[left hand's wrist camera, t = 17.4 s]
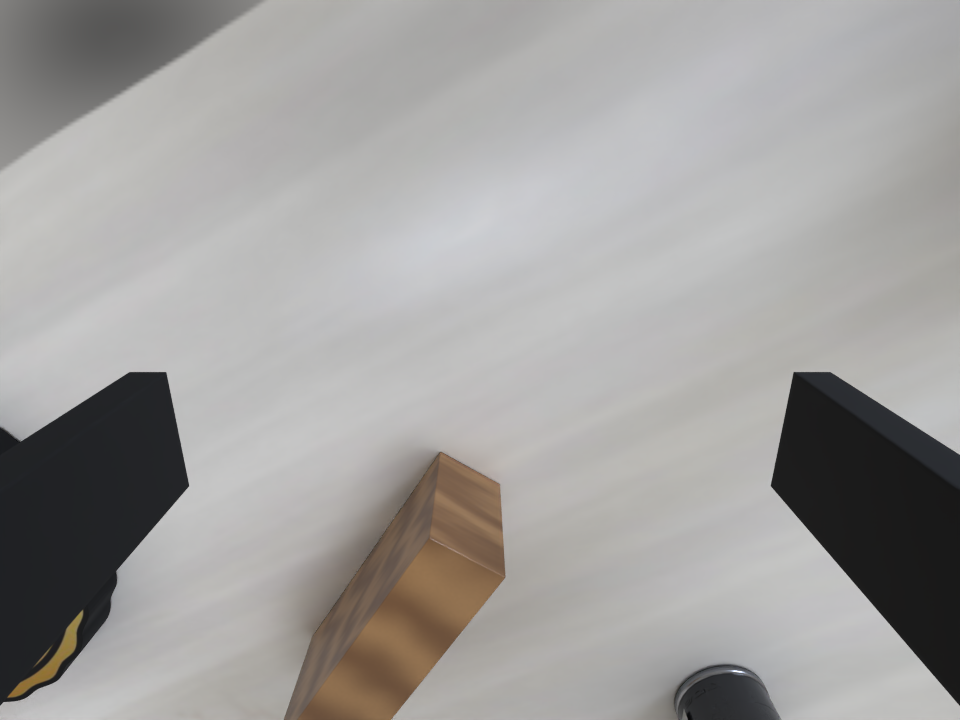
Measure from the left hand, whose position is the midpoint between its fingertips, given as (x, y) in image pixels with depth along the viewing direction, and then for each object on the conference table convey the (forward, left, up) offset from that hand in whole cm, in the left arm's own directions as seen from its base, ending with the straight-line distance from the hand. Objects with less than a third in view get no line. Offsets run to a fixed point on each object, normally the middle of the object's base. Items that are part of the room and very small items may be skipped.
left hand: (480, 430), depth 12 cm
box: (+32, +1, -33) cm, 46 cm away
